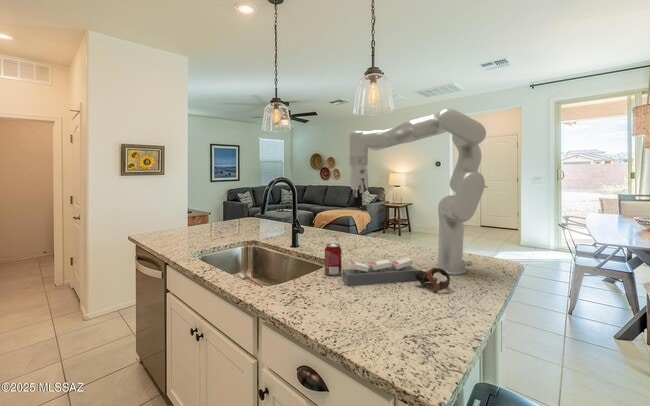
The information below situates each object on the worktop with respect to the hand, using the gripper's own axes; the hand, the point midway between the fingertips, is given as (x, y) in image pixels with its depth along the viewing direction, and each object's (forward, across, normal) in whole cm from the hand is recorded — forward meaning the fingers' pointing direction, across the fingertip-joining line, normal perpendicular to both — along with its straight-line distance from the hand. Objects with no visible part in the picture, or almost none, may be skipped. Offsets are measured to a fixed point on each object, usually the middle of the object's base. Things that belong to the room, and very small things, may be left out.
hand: (358, 206), depth 125 cm
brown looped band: (+27, -24, -20) cm, 41 cm away
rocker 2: (+21, -13, -5) cm, 25 cm away
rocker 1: (+21, -13, +4) cm, 25 cm away
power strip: (+27, -13, -8) cm, 31 cm away
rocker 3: (+21, -13, -14) cm, 29 cm away
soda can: (+27, -2, +11) cm, 30 cm away
